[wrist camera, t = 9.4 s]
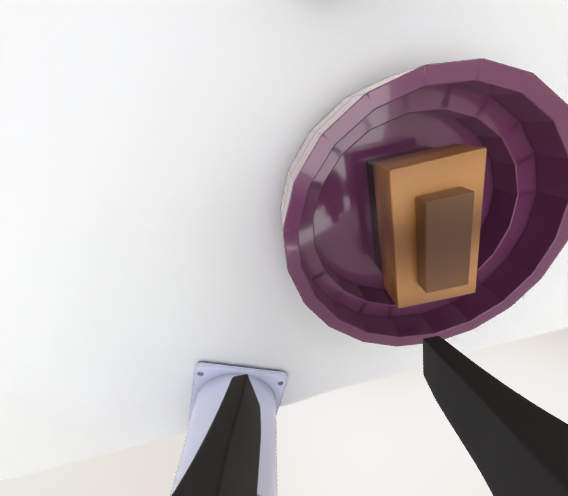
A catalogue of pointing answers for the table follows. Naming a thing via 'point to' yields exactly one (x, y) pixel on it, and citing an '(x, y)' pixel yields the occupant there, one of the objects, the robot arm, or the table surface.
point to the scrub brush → (427, 221)
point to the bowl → (413, 135)
